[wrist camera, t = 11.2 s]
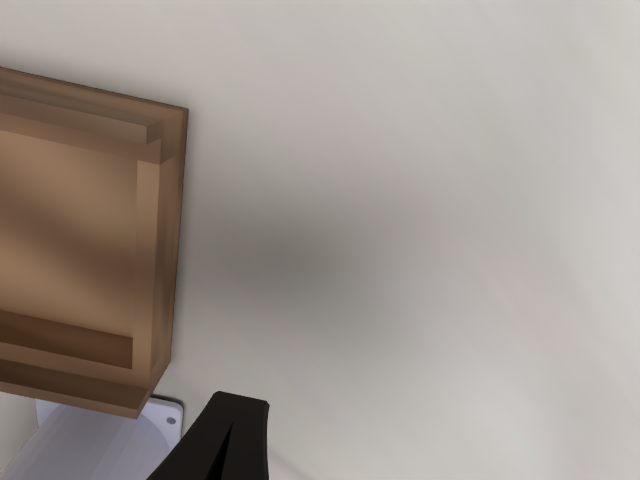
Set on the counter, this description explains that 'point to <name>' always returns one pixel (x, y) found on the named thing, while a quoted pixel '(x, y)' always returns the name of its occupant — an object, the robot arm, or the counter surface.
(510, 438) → the counter surface
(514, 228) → the counter surface
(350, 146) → the counter surface
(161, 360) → the walnut box
